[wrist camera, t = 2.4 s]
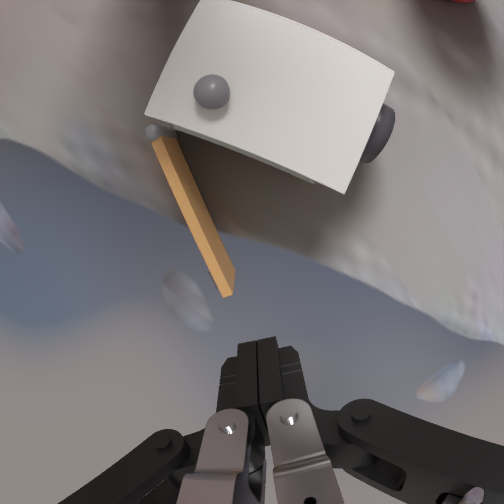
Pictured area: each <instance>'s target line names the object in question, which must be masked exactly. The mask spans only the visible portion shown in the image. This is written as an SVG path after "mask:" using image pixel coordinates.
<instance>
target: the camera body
mask: <svg viewBox="0 0 504 504" xmlns="http://www.w3.org/2000/svg"><path fill="white" fill-rule="evenodd" d="M394 73H395V72H394V71H392V70H391V69H389V68H387V67H386V66H384V65H383V64H381V63H379V62H377V61H376V60H374V59H372V58H370V57H369V56H367V55H365V54H363V53H361V52H360V51H358V50H356V49H354V48H352V47H350V46H348V45H346V44H344V43H342V42H340V41H338V40H336V39H334V38H332V37H330V36H328V35H326V34H323V33H321V32H319V31H317V30H314V29H312V28H310V27H307V26H305V25H303V24H300V23H298V22H295V21H293V20H290V19H287V18H285V17H282V16H279V15H276V14H274V13H271V12H268V11H265V10H262V9H259V8H256V7H252V6H249V5H246V4H242V3H239V2H235V1H231V0H200V1H199V3H198V5H197V6H196V8H195V10H194V12H193V13H192V15H191V17H190V19H189V20H188V22H187V24H186V26H185V28H184V29H183V31H182V33H181V35H180V37H179V39H178V41H177V43H176V45H175V47H174V48H173V50H172V52H171V55H170V57H169V59H168V61H167V63H166V65H165V67H164V69H163V71H162V73H161V76H160V78H159V80H158V82H157V84H156V87H155V89H154V91H153V94H152V96H151V98H150V101H149V103H148V106H147V108H146V110H145V113H144V115H146V116H149V117H152V118H155V119H158V120H161V121H164V122H167V123H169V124H172V125H173V129H176V130H179V131H182V132H185V133H188V134H190V135H193V136H196V137H199V138H202V139H204V140H207V141H210V142H212V143H215V144H218V145H220V146H223V147H226V148H228V149H231V150H233V151H236V152H239V153H241V154H244V155H246V156H249V157H251V158H254V159H256V160H258V161H261V162H263V163H266V164H268V165H270V166H273V167H275V168H277V169H280V170H282V171H284V172H287V173H289V174H291V175H294V176H296V177H298V178H300V179H303V180H305V181H307V182H309V183H311V184H315V182H317V183H320V184H322V185H324V186H327V187H329V188H331V189H333V190H336V191H338V192H340V193H342V194H345V192H346V190H347V187H348V185H349V183H350V181H351V178H352V176H353V174H354V172H355V169H356V167H357V165H358V162H359V160H361V161H362V162H364V163H368V162H371V161H372V160H374V159H375V158H376V157H377V156H378V155H379V154H380V152H381V151H382V150H383V148H384V147H385V145H386V143H387V142H388V140H389V138H390V135H391V133H392V130H393V127H394V123H395V112H394V110H393V109H392V108H390V107H389V106H387V105H385V104H384V103H383V102H384V99H385V96H386V94H387V91H388V89H389V86H390V83H391V81H392V78H393V75H394Z"/></svg>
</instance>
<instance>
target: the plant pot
mask: <svg viewBox="0 0 504 504" xmlns="http://www.w3.org/2000/svg"><path fill="white" fill-rule="evenodd" d="M452 1H455V2H459V3H470V2H473V1H475V0H452Z"/></svg>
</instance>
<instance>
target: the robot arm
mask: <svg viewBox="0 0 504 504" xmlns="http://www.w3.org/2000/svg"><path fill="white" fill-rule="evenodd" d="M220 377H221V378H220V386H219V393H218V401H217V410H216V413H215V414H214V415H212V417H210V418H209V420H208V421H207V424H206V427H205V428H204V429H202V430H201V431H198V432H195V433H192V434H189V435H186V436H182V435H181V434H180V433H179V432H178V431H176V430H172V429H164V430H160V431H157V432H155V433H154V434H152V435H151V436H150V437H148V438H147V439H146V440H145V441H143V442H142V443H141V444H140V445H138V446H137V447H136V448H135V449H133V450H132V451H131V452H129V453H128V454H127V455H125V456H124V457H123V458H122V459H120V460H119V461H118V462H116V463H115V464H114V465H112V466H111V467H110V468H108V469H107V470H106V471H104V472H103V473H102V474H100V475H99V476H97V477H96V478H95V479H93V480H92V481H90V482H89V483H87V484H86V485H85V486H83V487H82V488H80V489H79V490H77V491H76V492H75V493H73V494H71V495H70V496H68V497H67V498H65V499H64V500H63V501H61V502H59V503H58V504H264V502H265V484H266V460H265V446H268V445H271V450H272V456H273V462H274V469H273V477H274V483H275V489H276V494H277V501H278V504H344V501H343V498H342V495H341V492H340V489H339V486H338V483H337V480H336V477H335V474H334V471H333V468H343V470H344V471H345V472H347V473H348V474H350V475H352V476H353V477H355V478H357V479H359V480H361V481H363V482H365V483H366V484H368V485H370V486H372V487H374V488H376V489H378V490H380V491H382V492H384V493H386V494H388V495H390V496H392V497H394V498H396V499H398V500H401V501H403V502H405V503H407V504H504V446H502V445H498V444H495V443H491V442H488V441H484V440H481V439H478V438H474V437H471V436H468V435H465V434H462V433H459V432H456V431H453V430H450V429H447V428H444V427H441V426H438V425H436V424H433V423H430V422H427V421H424V420H422V419H419V418H417V417H414V416H411V415H409V414H406V413H404V412H401V411H399V410H396V409H393V408H391V407H388V406H386V405H384V404H381V403H379V402H376V401H374V400H371V399H358V400H354V401H351V402H349V403H348V404H346V405H345V406H344V407H343V408H342V409H341V410H340V411H329V410H322V409H319V408H317V407H315V406H314V405H312V403H311V402H310V401H309V399H308V395H307V390H306V386H305V381H304V377H303V372H302V368H301V363H300V359H299V355H298V352H297V351H296V350H295V349H294V348H293V347H292V346H287V347H282V348H278V344H277V340H276V337H275V336H274V337H270V338H265V339H260V340H257V341H250V342H245V343H240V344H238V351H237V357H231V358H227V360H226V362H225V363H224V364H223V366H222V368H221V376H220ZM163 480H164V481H163ZM162 481H163V482H162ZM157 485H158V486H157ZM156 486H157V487H156ZM152 489H153V490H152ZM151 490H152V491H151ZM146 494H147V495H146ZM145 495H146V496H145Z"/></svg>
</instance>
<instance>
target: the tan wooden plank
mask: <svg viewBox="0 0 504 504" xmlns="http://www.w3.org/2000/svg"><path fill="white" fill-rule="evenodd" d="M144 136H145V138H146V139H147V140H149V141H151V144H152V146H153V148H154V151H155V153H156V155H157V158H158V160H159V162H160V165H161V167H162V169H163V171H164V174H165V176H166V178H167V180H168V183H169V185H170V187H171V189H172V192H173V194H174V196H175V198H176V200H177V203H178V205H179V207H180V209H181V211H182V214H183V216H184V218H185V220H186V222H187V224H188V226H189V229H190V231H191V233H192V235H193V237H194V239H195V241H196V243H197V246H198V248H199V250H200V252H201V254H202V256H203V258H204V260H205V262H206V264H207V266H208V268H209V274H210V276H211V278H212V280H213V282H214V284H215V286H216V288H217V289H219V290H220V293H221V294H222V296H223V298H225V297H227V296H230V295H233V289H234V280H235V269H234V266H233V264H232V262H231V260H230V258H229V256H228V253H227V251H226V249H225V247H224V245H223V243H222V240H221V238H220V236H219V234H218V232H217V229H216V227H215V225H214V223H213V221H212V218H211V216H210V214H209V212H208V209H207V207H206V205H205V203H204V201H203V198H202V196H201V194H200V192H199V189H198V187H197V185H196V183H195V180H194V178H193V176H192V173H191V171H190V169H189V167H188V164H187V162H186V160H185V158H184V155H183V153H182V151H181V148H180V146H179V144H178V141H177V137H178V135H177V132H176V131H175V130H172V129H169V128H165V127H162V126H159V125H155V124H151V125H148V126H147V127H146V128H145V130H144Z"/></svg>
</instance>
